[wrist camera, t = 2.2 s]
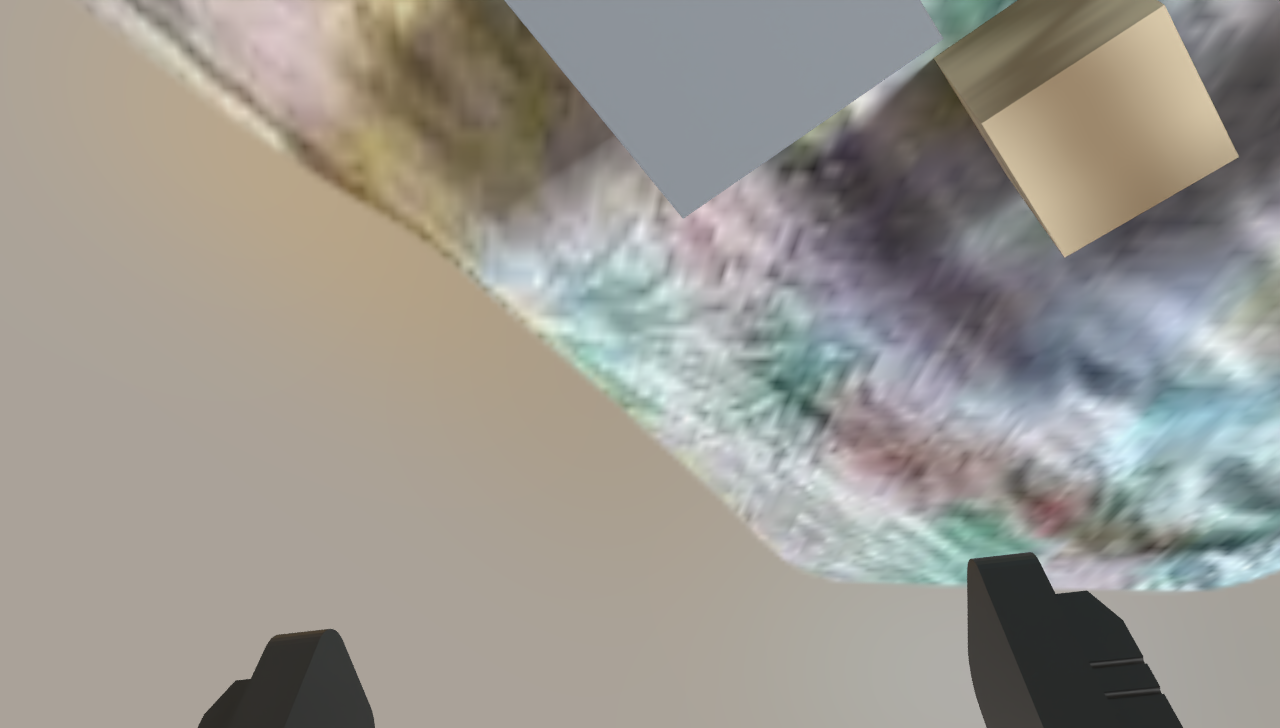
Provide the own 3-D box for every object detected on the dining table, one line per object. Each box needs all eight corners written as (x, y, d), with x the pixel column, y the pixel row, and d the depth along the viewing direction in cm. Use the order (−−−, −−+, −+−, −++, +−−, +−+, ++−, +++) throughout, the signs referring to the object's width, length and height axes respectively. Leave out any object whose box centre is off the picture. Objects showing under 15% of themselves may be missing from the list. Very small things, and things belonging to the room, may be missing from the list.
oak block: (1082, -46, 30) (1164, 4, 25) (1150, 86, 32) (1238, 157, 27) (933, 57, 32) (981, 123, 27) (1007, 175, 34) (1064, 257, 29)
